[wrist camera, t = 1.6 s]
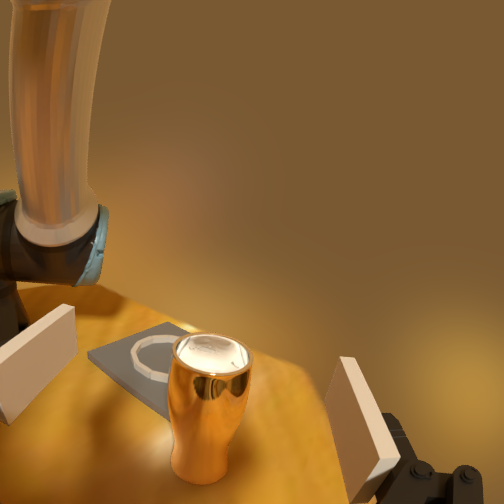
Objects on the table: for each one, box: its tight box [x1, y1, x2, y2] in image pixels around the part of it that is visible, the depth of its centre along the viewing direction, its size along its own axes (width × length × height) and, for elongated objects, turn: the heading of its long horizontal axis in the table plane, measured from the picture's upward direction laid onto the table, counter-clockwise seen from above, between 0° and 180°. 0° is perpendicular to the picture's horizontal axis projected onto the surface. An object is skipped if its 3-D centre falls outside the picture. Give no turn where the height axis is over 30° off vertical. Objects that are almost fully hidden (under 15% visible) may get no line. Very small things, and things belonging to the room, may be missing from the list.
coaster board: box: [87, 322, 190, 422], centre depth 45 cm, size 18×18×2 cm
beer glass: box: [167, 332, 253, 485], centre depth 26 cm, size 7×7×15 cm
